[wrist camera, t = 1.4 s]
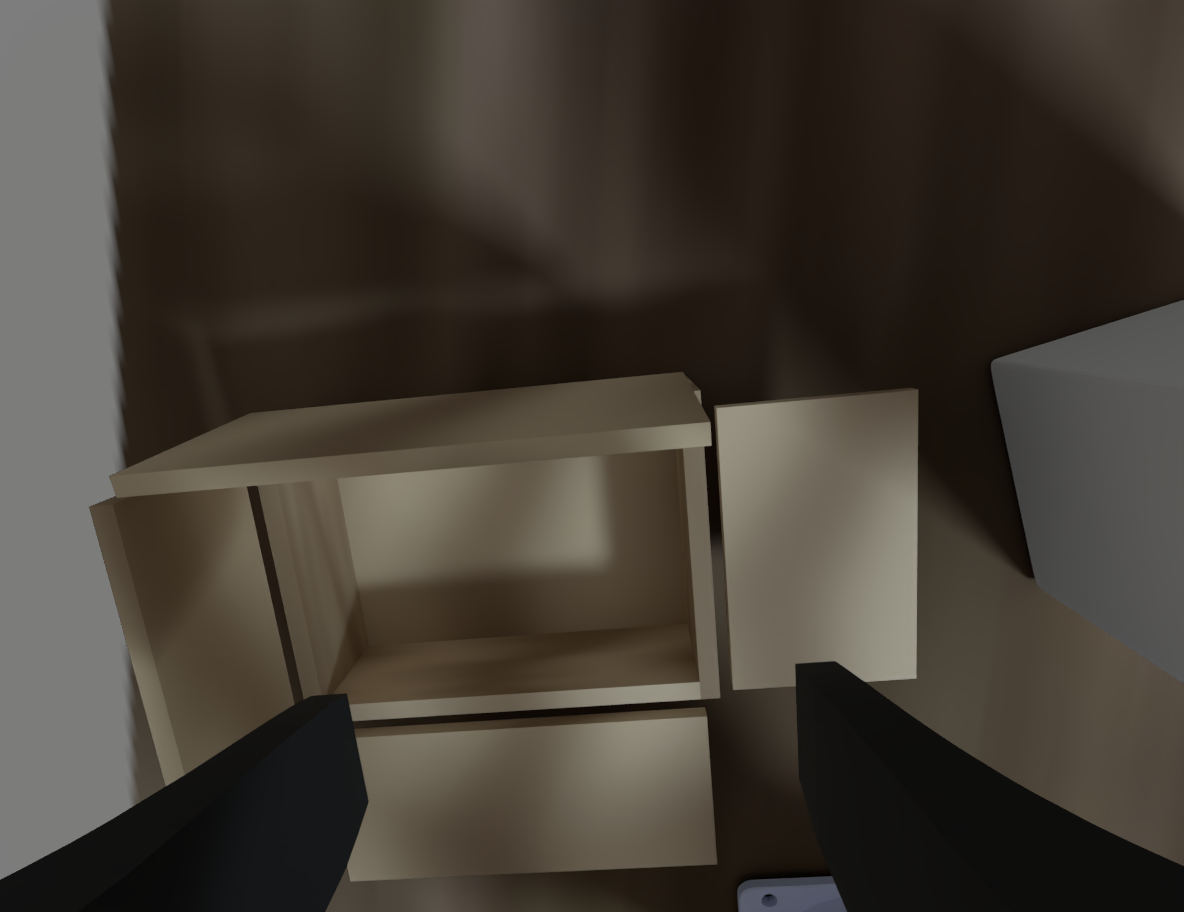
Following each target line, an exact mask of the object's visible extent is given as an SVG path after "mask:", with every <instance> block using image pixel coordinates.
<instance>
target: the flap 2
mask: <svg viewBox="0 0 1184 912" xmlns="http://www.w3.org/2000/svg"><path fill="white" fill-rule="evenodd" d="M703 446H712V444H711V424H710V420H709V418H708V417H707V415H706V413H705V411H704V409H703V407H702V406H701V404H700V402H699V400H698V398H697V396H696V395H695V393H694V391H693V389H692V387H691V385H690V384H689V382H688V380H687V378H686V376H685V374H684V373H683V372H676V373H666V374H655V375H645V376H634V377H624V378H613V379H603V380H592V381H582V382H571V383H561V384H551V385H540V386H530V387H519V388H509V389H498V390H488V391H477V392H467V393H456V394H446V395H435V396H425V397H414V398H404V399H393V400H383V401H372V402H362V403H351V404H341V405H330V406H320V407H309V408H299V409H288V410H278V411H267V412H257V413H249V414H247V415H245V416H243V417H240V418H238V419H236V420H234V421H231V422H229V423H227V424H225V425H223V426H220V427H218V428H216V429H214V430H211V431H209V432H207V433H205V434H202V435H200V436H198V437H196V438H193V439H191V440H189V441H187V442H184V443H182V444H180V445H178V446H176V447H173V448H171V449H169V450H167V451H164V452H162V453H160V454H158V455H155V456H153V457H151V458H149V459H146V460H144V461H142V462H140V463H137V464H135V465H133V466H131V467H129V468H126V469H124V470H122V471H120V472H117V473H115V474H113V475H111V476H110V480H111V482H112V485H113V488H114V491H115V494H116V497H117V498H121V497H133V496H144V495H155V494H167V493H178V492H190V491H201V490H212V489H224V488H235V487H247V486H258V485H269V484H281V483H292V482H304V481H315V480H326V479H338V478H349V477H361V476H372V475H383V474H395V473H406V472H418V471H429V470H440V469H452V468H463V467H475V466H486V465H497V464H509V463H520V462H532V461H543V460H554V459H566V458H577V457H589V456H600V455H611V454H623V453H634V452H646V451H657V450H668V449H680V448H691V447H703Z"/></svg>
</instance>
